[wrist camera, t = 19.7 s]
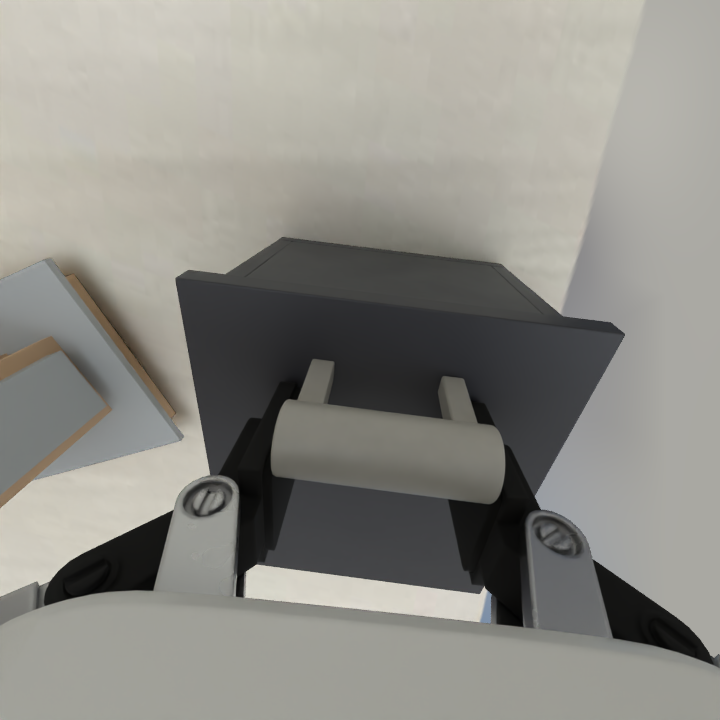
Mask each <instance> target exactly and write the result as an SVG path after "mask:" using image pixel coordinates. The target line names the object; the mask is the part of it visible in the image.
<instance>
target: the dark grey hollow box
mask: <svg viewBox="0 0 720 720" xmlns="http://www.w3.org/2000/svg"><path fill="white" fill-rule="evenodd" d="M225 275H233V276H241V277H249V278H257V279H265V280H273V281H282V282H290V283H298V284H306V285H314V286H322V287H330V288H338V289H346V290H354V291H362V292H370V293H378V294H386V295H394V296H402V297H410V298H418V299H426V300H434V301H442V302H450V303H458V304H466V305H474V306H482V307H491V308H499V309H507V310H515V311H523V312H531V313H539V314H547V315H555V316H562V315H560V314H559V313H558V312H557V311H556V310H555V309H553V308H552V307H551V306H550V305H549V304H547V303H546V302H545V301H544V300H543V299H541V298H540V297H539V296H538V295H537V294H536V293H534V292H533V291H532V290H531V289H530V288H528V287H527V286H526V285H525V284H524V283H523V282H521V281H520V280H519V279H518V278H517V277H515V276H514V275H513V274H512V273H511V272H509V271H508V270H507V269H506V268H505V267H504V266H503V265H501V264H496V263H488V262H480V261H471V260H463V259H455V258H447V257H439V256H431V255H423V254H415V253H406V252H398V251H390V250H382V249H374V248H366V247H358V246H350V245H341V244H333V243H325V242H317V241H309V240H301V239H293V238H285V237H282V238H280V239H279V240H278V241H276V242H274V243H273V244H271V245H270V246H268V247H267V248H265V249H264V250H262V251H261V252H259V253H257V254H256V255H254V256H253V257H251V258H250V259H248V260H247V261H245V262H244V263H242V264H241V265H239V266H237V267H236V268H234V269H233V270H231V271H230V272H228V273H227V274H225Z"/></svg>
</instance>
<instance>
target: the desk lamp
mask: <svg viewBox="0 0 720 720" xmlns="http://www.w3.org/2000/svg"><path fill="white" fill-rule="evenodd" d="M175 414H176V413H175V411H174V410H173V409H172V407H171V406H170V404H169V403H168V402H167V400H166V399H165V398H164V396H163V395H162V394H161V392H160V391H159V389H158V388H157V387H156V385H155V384H154V383H153V381H152V380H151V379H150V377H149V376H148V374H147V373H146V372H145V370H144V369H143V368H142V366H141V365H140V364H139V362H138V361H137V359H136V358H135V357H134V355H133V354H132V353H131V351H130V350H129V349H128V347H127V346H126V344H125V343H124V342H123V340H122V339H121V338H120V336H119V335H118V334H117V332H116V331H115V329H114V328H113V327H112V325H111V324H110V323H109V321H108V320H107V319H106V317H105V316H104V314H103V313H102V312H101V310H100V309H99V308H98V306H97V305H96V304H95V302H94V301H93V299H92V298H91V297H90V295H89V294H88V293H87V291H86V290H85V289H84V287H83V286H82V284H81V283H80V282H79V280H78V279H77V278H76V276H75V275H74V274H71V275H68V276H64V275H63V274H62V272H61V271H60V270H59V268H58V267H57V265H56V264H55V263H54V261H53V260H52V259H51V258H49V259H45V260H42V261H40V262H38V263H36V264H33V265H31V266H29V267H27V268H25V269H22V270H20V271H18V272H16V273H14V274H11V275H9V276H7V277H5V278H3V279H0V508H1V507H2V506H3V505H4V504H6V503H7V502H8V501H9V500H10V499H11V498H12V497H14V496H15V495H16V494H17V493H18V492H19V491H20V490H22V489H23V488H24V487H25V486H26V485H27V484H28V483H30V482H31V481H33V480H37V479H40V478H44V477H48V476H51V475H55V474H59V473H63V472H66V471H70V470H74V469H78V468H81V467H85V466H89V465H92V464H96V463H100V462H104V461H107V460H111V459H115V458H119V457H122V456H126V455H130V454H133V453H137V452H141V451H145V450H148V449H152V448H156V447H160V446H163V445H167V444H171V443H174V442H178V441H181V440H182V439H183V437H184V435H183V434H182V433H181V431H180V430H179V429H178V427H177V426H176V425H175V423H174V422H173V421H172V419H171V418H172V417H173V416H174V415H175Z"/></svg>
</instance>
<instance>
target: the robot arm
mask: <svg viewBox="0 0 720 720" xmlns="http://www.w3.org/2000/svg"><path fill="white" fill-rule="evenodd" d="M301 389H302V388H299V387H298V384H297V383H292V382H283V381H281V382H280V383H279V385H278V387H277V389H276V391H275V393H274V395H273V397H272V399H271V401H270V403H269V405H268V407H267V409H266V411H265V413H264V415H263V417H262V419H261V418H252V417H251V418H249V420H248V421H247V423H246V424H245V426H244V428H243V430H242V432H241V434H240V435H239V437H238V439H237V441H236V443H235V445H234V446H233V448H232V450H231V452H230V454H229V456H228V458H227V459H226V461H225V463H224V465H223V467H222V469H221V470H220V472H219V474H218V475H210V476H206V477H202V478H199V479H197V480H195V481H193V482H191V483H190V484H189V485H187V486H186V487H185V488H184V489H183V490H182V491H181V492H180V493H179V495H178V498H177V500H176V503H175V507H174V510H172V511H170V512H168V513H166V514H164V515H162V516H160V517H158V518H156V519H154V520H152V521H150V522H147V523H145V524H143V525H141V526H139V527H137V528H135V529H133V530H131V531H129V532H127V533H125V534H123V535H120V536H118V537H116V538H114V539H112V540H110V541H108V542H106V543H104V544H102V545H100V546H98V547H96V548H93V549H91V550H89V551H87V552H85V553H83V554H81V555H80V556H78V557H76V558H75V559H73V560H71V561H70V562H68V563H67V564H66V565H65V566H64V567H63V568H61V569H60V570H59V571H58V572H57V574H56V575H55V576H54V577H53V578H52V580H51V581H50V582H48V583H45V584H43V585H41V586H39V584H38V582H34V583H32V584H30V585H27V586H25V587H23V588H20V589H18V590H15V591H13V592H11V593H8V594H6V595H4V596H1V597H0V720H720V655H719V654H718V655H717V656H716V657H715V658H713V657H712V656H710V654H709V652H708V650H707V649H706V647H705V646H704V644H703V643H702V642H701V640H700V639H699V638H698V637H697V636H696V635H695V633H694V632H693V631H692V630H691V629H690V628H689V627H688V626H686V625H685V624H684V623H683V622H682V621H680V620H679V619H678V618H677V617H675V616H674V615H672V614H671V613H669V612H668V611H667V610H665V609H664V608H662V607H661V606H659V605H658V604H657V603H655V602H654V601H652V600H651V599H649V598H648V597H646V596H645V595H644V594H642V593H641V592H639V591H638V590H636V589H635V588H634V587H632V586H631V585H629V584H628V583H626V582H625V581H623V580H622V579H621V578H619V577H618V576H616V575H615V574H613V573H612V572H611V571H609V570H607V569H606V568H605V567H603V566H602V565H600V564H599V563H598V562H596V561H595V560H593V559H592V555H591V551H590V547H589V544H588V542H587V540H586V537H585V536H584V534H583V533H582V532H581V530H580V529H579V528H578V527H577V526H576V525H574V524H573V523H572V522H571V521H570V520H568V519H567V518H565V517H563V516H562V515H559V514H557V513H555V512H552V511H547V510H541V509H540V507H539V505H538V503H537V501H536V499H535V497H534V495H533V493H532V490H531V488H530V486H529V484H528V482H527V480H526V478H525V476H524V474H523V472H522V470H521V468H520V466H519V464H518V462H517V460H516V458H515V456H514V454H513V452H512V450H511V448H510V447H509V446H508V445H505V444H504V443H503V445H504V451H505V475H504V482H503V486H502V489H501V492H500V495H499V497H498V498H497V500H496V501H495V502H494V503H492V504H482V503H475V502H467V501H459V500H452V499H448V502H449V507H450V512H451V517H452V521H453V526H454V531H455V535H456V540H457V545H458V550H459V554H460V559H461V564H462V568H463V570H464V571H469V575H470V579H471V584H472V585H480V586H485V589H487V590H488V591H489V592H490V593H491V594H492V597H491V624H489V623H480V622H471V621H462V620H453V619H444V618H435V617H425V616H416V615H407V614H397V613H388V612H379V611H369V610H360V609H350V608H341V607H331V606H321V605H311V604H301V603H291V602H282V601H272V600H262V599H252V598H245V588H246V571H247V570H249V569H250V568H252V567H253V566H255V565H256V564H257V562H263V563H265V560H266V557H267V553H268V550H272V551H274V550H275V548H276V545H277V542H278V538H279V535H280V531H281V528H282V524H283V520H284V517H285V513H286V510H287V506H288V503H289V499H290V495H291V492H292V488H293V485H294V481H295V479H290V478H283V477H276V476H274V475H273V474H272V470H271V448H272V441H273V435H274V430H275V425H276V421H277V418H278V415H279V412H280V409H281V407H282V405H283V404H284V402H285V401H286V400H289V399H291V400H298V397H299V395H300V392H301ZM471 404H472V407H473V410H474V413H475V416H476V420H477V423H478V424H486V425H492V426H494V427H495V428H496V426H495V424H494V422H493V419H492V417H491V415H490V413H489V411H488V409H487V407H486V405H485V403H479V402H471Z"/></svg>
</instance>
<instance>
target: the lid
mask: <svg viewBox="0 0 720 720" xmlns="http://www.w3.org/2000/svg"><path fill="white" fill-rule="evenodd" d="M175 280H176V286H177V291H178V297H179V302H180V308H181V314H182V319H183V325H184V330H185V336H186V341H187V347H188V353H189V358H190V364H191V369H192V375H193V381H194V386H195V392H196V397H197V403H198V408H199V414H200V420H201V425H202V431H203V436H204V442H205V447H206V453H207V459H208V464H209V470H210V475H218V474H219V472H220V470H221V469H222V467H223V465H224V463H225V461H226V459H227V458H228V456H229V454H230V452H231V450H232V448H233V446H234V445H235V443H236V441H237V439H238V437H239V435H240V434H241V432H242V430H243V428H244V426H245V424H246V423H247V421H248V420H249V418H251V417H252V418H261V419H262V417H263V415H264V413H265V411H266V409H267V407H268V405H269V403H270V401H271V399H272V397H273V395H274V393H275V391H276V389H277V387H278V385H279V383H280V382H281V381H283V382H292V383H297V384H298V387H299V388H302V389H301V392H300V395H299V397H298V400H291V399H289V400H286V401H285V402H284V404H283V405H282V407H281V409H280V412H279V415H278V418H277V421H276V425H275V430H274V435H273V441H272V448H271V470H272V474H273V475H274V476H276V477H283V478H290V479H295V481H294V485H293V488H292V492H291V495H290V499H289V503H288V506H287V510H286V513H285V517H284V520H283V524H282V528H281V531H280V535H279V538H278V542H277V545H276V548H275V550H274V551H272V550H268V553H267V557H266V560H265V563H263V562H257V565H265V566H272V567H280V568H287V569H295V570H302V571H310V572H318V573H325V574H333V575H340V576H348V577H355V578H363V579H370V580H378V581H385V582H393V583H400V584H408V585H415V586H423V587H430V588H438V589H445V590H453V591H460V592H468V593H475V594H480V593H481V591H482V589H483V587H484V586H480V585H472V584H471V579H470V575H469V571H464V570H463V568H462V564H461V559H460V554H459V550H458V545H457V540H456V535H455V531H454V526H453V521H452V517H451V512H450V507H449V502H448V499H452V500H459V501H467V502H475V503H482V504H492V503H494V502H495V501H496V500H497V498H498V497H499V495H500V492H501V489H502V486H503V482H504V475H505V451H504V445H503V443H504V444H505V445H508V446H509V447H510V448H511V450H512V452H513V454H514V456H515V458H516V460H517V462H518V464H519V466H520V468H521V470H522V472H523V474H524V476H525V478H526V480H527V482H528V484H529V486H530V488H531V490H532V493H533V495H534V497H535V495H536V493H537V491H538V489H539V488H540V486H541V484H542V482H543V480H544V479H545V477H546V475H547V473H548V471H549V469H550V468H551V466H552V464H553V463H554V461H555V459H556V457H557V456H558V454H559V452H560V450H561V448H562V447H563V445H564V443H565V441H566V440H567V438H568V436H569V434H570V432H571V431H572V429H573V427H574V425H575V423H576V421H577V420H578V418H579V416H580V415H581V413H582V411H583V409H584V407H585V406H586V404H587V402H588V400H589V399H590V397H591V395H592V393H593V391H594V390H595V388H596V386H597V384H598V382H599V381H600V379H601V377H602V375H603V374H604V372H605V370H606V368H607V366H608V365H609V363H610V361H611V359H612V358H613V356H614V354H615V352H616V350H617V349H618V347H619V345H620V343H621V342H622V340H623V338H624V336H625V334H624V333H623V332H622V331H621V330H619V329H618V328H617V327H616V326H614V325H613V324H612V323H611V322H603V321H595V320H587V319H578V318H570V317H563V316H555V315H547V314H539V313H531V312H523V311H515V310H507V309H499V308H491V307H482V306H474V305H466V304H458V303H450V302H442V301H434V300H426V299H418V298H410V297H402V296H394V295H386V294H378V293H370V292H362V291H354V290H346V289H338V288H330V287H322V286H314V285H306V284H298V283H290V282H282V281H273V280H265V279H257V278H249V277H241V276H233V275H225V274H217V273H209V272H201V271H193V270H188V271H186V272H184V273H183V274H181V275H180V276H178V277H176V279H175ZM471 402H479V403H485V405H486V407H487V409H488V411H489V413H490V415H491V417H492V419H493V422H494V424H495V426H496V428H495V427H494V426H492V425H486V424H478V423H477V420H476V416H475V413H474V410H473V407H472V404H471Z"/></svg>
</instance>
